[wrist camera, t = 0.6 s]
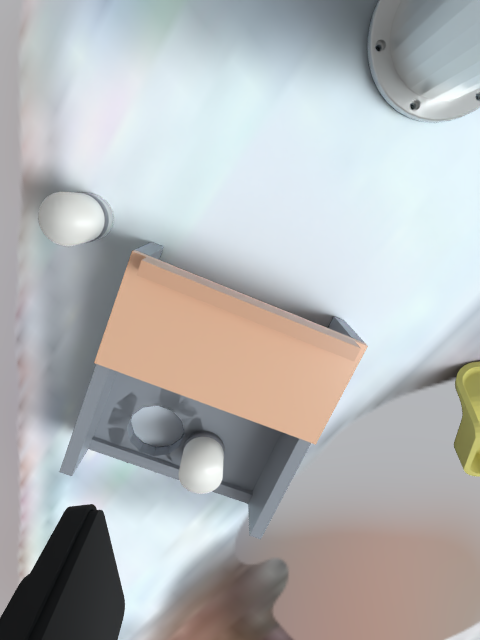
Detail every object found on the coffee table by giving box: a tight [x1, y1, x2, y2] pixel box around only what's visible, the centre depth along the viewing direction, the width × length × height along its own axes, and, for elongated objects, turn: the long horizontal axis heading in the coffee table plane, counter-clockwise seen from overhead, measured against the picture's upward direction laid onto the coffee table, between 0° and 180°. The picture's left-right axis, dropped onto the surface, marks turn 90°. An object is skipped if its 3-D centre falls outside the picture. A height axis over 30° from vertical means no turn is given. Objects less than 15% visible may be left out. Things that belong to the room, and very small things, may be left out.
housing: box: [60, 242, 364, 539], centre depth 40 cm, size 23×20×7 cm
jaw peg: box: [38, 192, 114, 246], centre depth 35 cm, size 4×4×6 cm
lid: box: [94, 250, 368, 444], centre depth 33 cm, size 10×20×3 cm, turn 68°
